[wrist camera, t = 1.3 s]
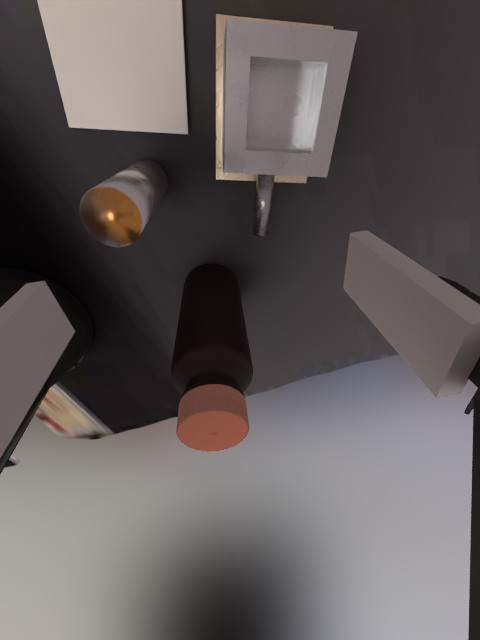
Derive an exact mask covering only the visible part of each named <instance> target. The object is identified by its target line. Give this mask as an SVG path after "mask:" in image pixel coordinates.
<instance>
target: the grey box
mask: <svg viewBox="0 0 480 640" xmlns="http://www.w3.org/2000/svg"><path fill="white" fill-rule="evenodd" d="M357 33H358V32H355V31H346V30H336V29H333V26H325V25H315V24H306V23H296V22H286V21H277V20H267V19H257V18H248V17H238V16H229V15H219V14H216V179H219V180H242V181H257V184H256V196H255V209H254V222H253V234H254V235H257V236H267V235H268V232H269V223H270V214H271V205H272V196H273V187H274V182H289V183H306V181H307V176H309V177H327V175H328V170H329V165H330V161H331V156H332V151H333V146H334V142H335V137H336V132H337V128H338V123H339V118H340V113H341V109H342V104H343V99H344V95H345V90H346V85H347V80H348V76H349V71H350V66H351V61H352V57H353V52H354V47H355V43H356V38H357Z"/></svg>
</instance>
